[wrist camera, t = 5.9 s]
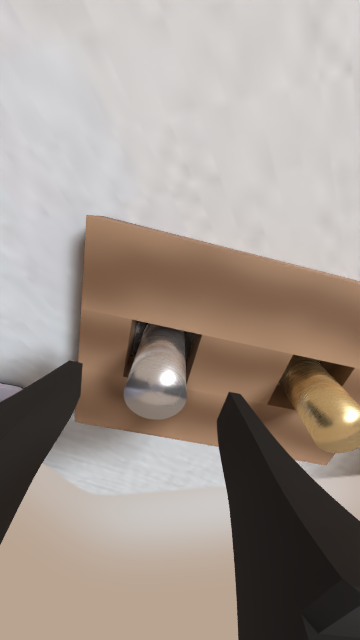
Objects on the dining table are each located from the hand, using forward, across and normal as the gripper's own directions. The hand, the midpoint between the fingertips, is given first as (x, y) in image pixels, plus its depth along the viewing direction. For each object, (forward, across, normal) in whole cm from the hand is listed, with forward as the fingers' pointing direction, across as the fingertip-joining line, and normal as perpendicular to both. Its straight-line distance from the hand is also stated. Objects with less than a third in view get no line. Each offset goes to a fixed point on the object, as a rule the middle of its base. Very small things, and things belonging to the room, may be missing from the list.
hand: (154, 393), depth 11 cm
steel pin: (+6, 0, 0) cm, 6 cm away
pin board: (+6, -5, 0) cm, 8 cm away
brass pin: (+6, -10, 0) cm, 12 cm away
